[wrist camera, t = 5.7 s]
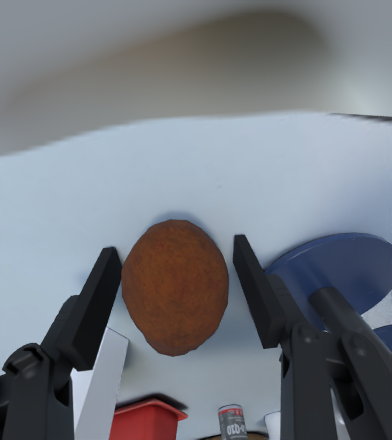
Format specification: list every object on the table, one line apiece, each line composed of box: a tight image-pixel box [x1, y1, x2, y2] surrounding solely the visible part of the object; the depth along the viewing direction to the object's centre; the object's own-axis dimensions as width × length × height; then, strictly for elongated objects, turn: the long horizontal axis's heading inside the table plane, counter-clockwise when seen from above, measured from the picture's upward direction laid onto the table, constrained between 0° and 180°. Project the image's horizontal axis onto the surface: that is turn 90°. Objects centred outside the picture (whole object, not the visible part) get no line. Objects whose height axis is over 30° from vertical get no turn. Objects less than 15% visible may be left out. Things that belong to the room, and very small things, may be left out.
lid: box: [248, 233, 392, 374], centre depth 15 cm, size 14×14×8 cm
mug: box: [70, 327, 129, 440], centre depth 18 cm, size 12×9×10 cm
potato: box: [121, 219, 229, 357], centre depth 12 cm, size 7×9×6 cm
